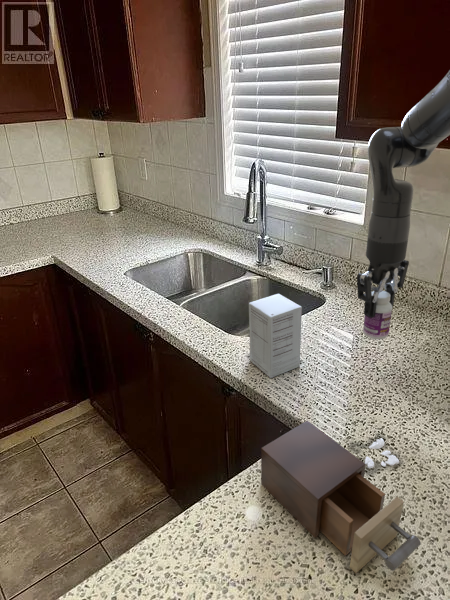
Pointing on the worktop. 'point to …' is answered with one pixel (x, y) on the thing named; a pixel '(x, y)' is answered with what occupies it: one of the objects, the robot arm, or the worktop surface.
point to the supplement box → (275, 334)
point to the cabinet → (306, 471)
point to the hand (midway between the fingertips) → (378, 311)
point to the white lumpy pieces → (378, 445)
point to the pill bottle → (379, 318)
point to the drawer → (364, 524)
